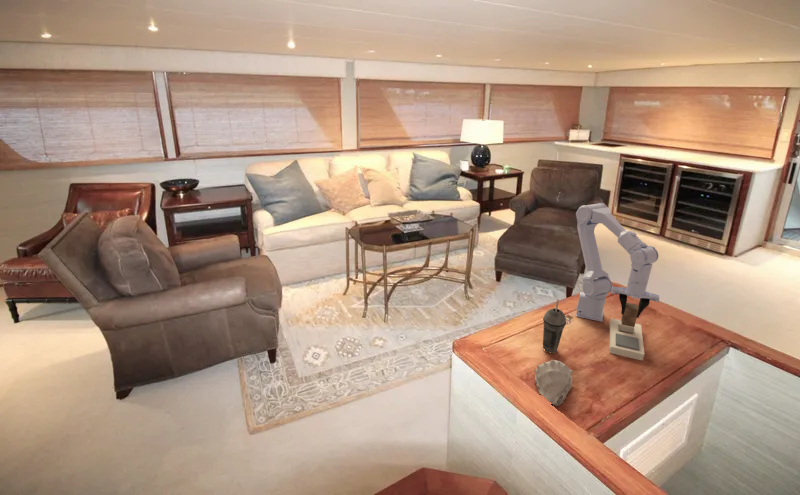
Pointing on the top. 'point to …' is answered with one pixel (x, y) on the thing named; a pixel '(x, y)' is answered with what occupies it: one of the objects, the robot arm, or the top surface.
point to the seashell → (553, 381)
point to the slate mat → (627, 341)
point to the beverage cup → (553, 328)
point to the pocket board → (636, 331)
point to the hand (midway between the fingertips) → (629, 314)
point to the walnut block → (630, 315)
